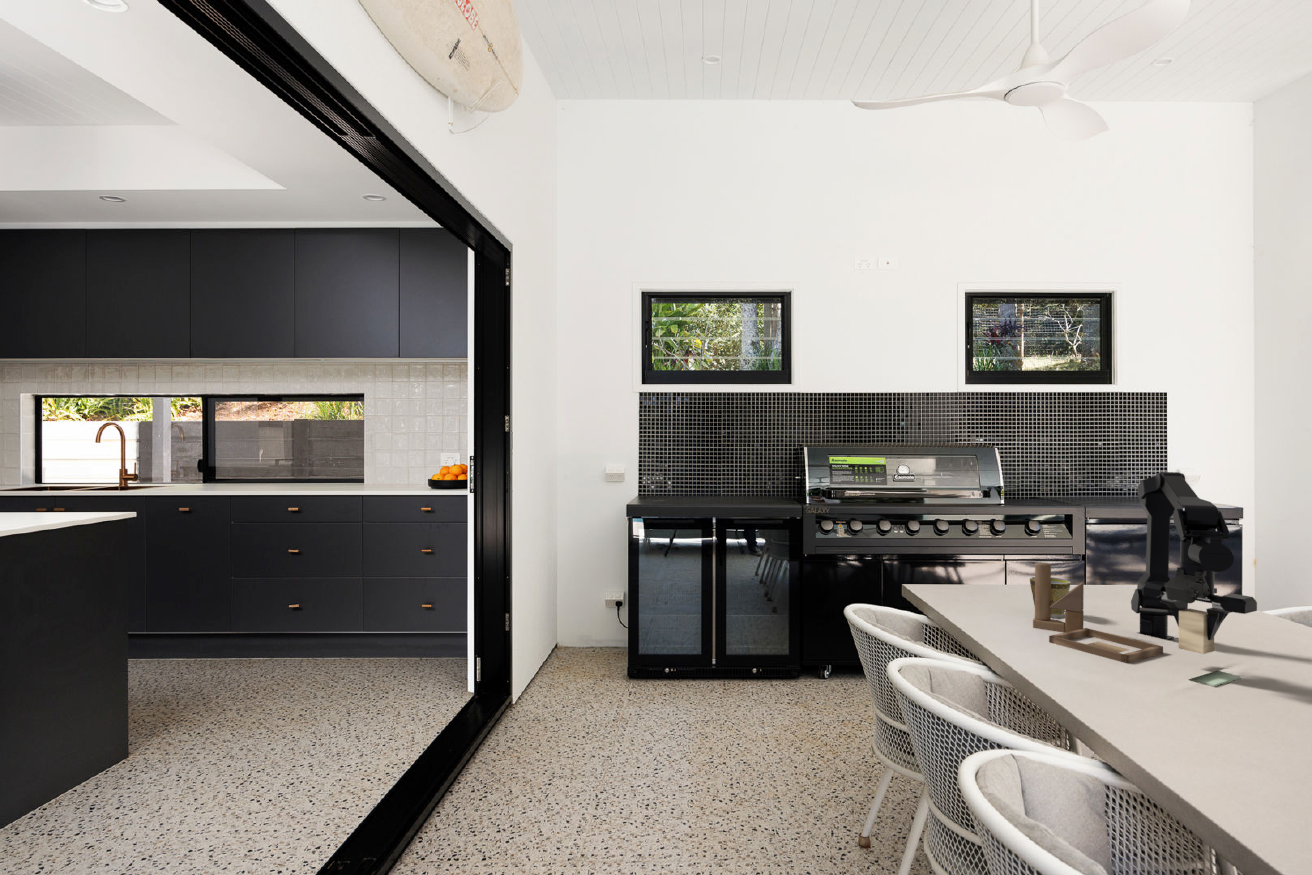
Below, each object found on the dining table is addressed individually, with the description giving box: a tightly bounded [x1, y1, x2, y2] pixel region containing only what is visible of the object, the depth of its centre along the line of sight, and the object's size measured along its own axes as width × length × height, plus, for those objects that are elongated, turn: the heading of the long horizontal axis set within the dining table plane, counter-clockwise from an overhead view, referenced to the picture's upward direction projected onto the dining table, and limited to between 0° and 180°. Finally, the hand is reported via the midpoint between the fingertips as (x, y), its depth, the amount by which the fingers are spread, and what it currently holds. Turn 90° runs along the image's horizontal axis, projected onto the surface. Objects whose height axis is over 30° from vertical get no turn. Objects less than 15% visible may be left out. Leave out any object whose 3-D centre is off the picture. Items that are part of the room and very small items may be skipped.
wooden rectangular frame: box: [1048, 627, 1164, 664], centre depth 160 cm, size 15×17×3 cm
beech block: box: [1178, 608, 1215, 655], centre depth 146 cm, size 4×4×8 cm
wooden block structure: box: [1032, 561, 1085, 633], centre depth 175 cm, size 4×11×18 cm, turn 52°
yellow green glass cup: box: [1029, 576, 1071, 619], centre depth 197 cm, size 13×10×10 cm
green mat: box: [1187, 670, 1241, 688], centre depth 146 cm, size 11×11×1 cm
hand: (1196, 636), depth 146 cm, fingers closed on beech block, 4 cm apart
